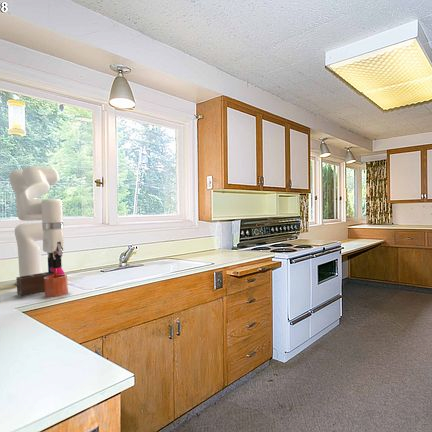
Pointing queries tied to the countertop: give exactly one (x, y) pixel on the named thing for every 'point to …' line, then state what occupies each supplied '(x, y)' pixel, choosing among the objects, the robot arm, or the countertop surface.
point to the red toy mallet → (55, 272)
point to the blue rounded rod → (49, 269)
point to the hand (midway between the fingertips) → (55, 267)
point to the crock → (55, 285)
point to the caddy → (31, 283)
